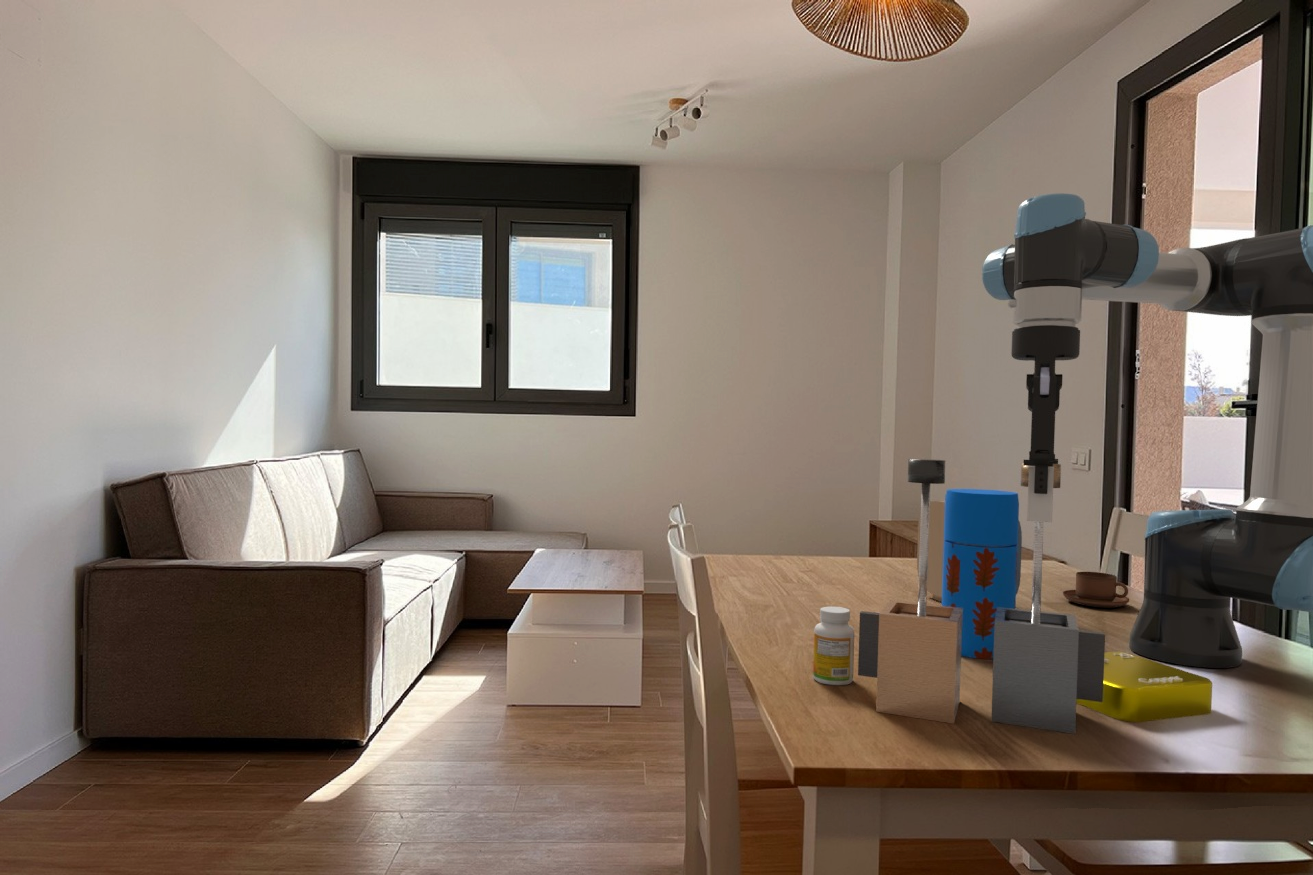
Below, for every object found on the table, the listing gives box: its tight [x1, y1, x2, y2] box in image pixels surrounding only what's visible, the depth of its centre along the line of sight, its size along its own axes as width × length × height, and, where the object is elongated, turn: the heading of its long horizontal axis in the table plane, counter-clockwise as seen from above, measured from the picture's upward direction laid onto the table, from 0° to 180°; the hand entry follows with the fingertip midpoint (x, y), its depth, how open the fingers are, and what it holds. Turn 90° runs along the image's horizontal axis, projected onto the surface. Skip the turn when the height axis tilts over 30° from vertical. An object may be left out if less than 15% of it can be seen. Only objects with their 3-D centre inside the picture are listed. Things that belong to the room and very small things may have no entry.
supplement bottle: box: [812, 606, 855, 686], centre depth 118 cm, size 5×5×10 cm
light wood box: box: [857, 599, 963, 724], centre depth 108 cm, size 12×9×12 cm
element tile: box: [1076, 651, 1213, 723], centre depth 113 cm, size 15×15×5 cm
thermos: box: [941, 488, 1020, 660], centre depth 135 cm, size 11×11×25 cm
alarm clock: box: [916, 493, 1023, 603], centre depth 171 cm, size 21×10×22 cm, turn 15°
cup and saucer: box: [1062, 571, 1130, 609], centre depth 174 cm, size 12×12×6 cm
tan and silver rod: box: [1009, 462, 1062, 627], centre depth 105 cm, size 6×6×21 cm
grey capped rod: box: [900, 458, 949, 620], centre depth 107 cm, size 6×6×21 cm
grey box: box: [991, 607, 1106, 735], centre depth 104 cm, size 12×9×12 cm
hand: (1039, 518), depth 105 cm, fingers closed on tan and silver rod, 4 cm apart
